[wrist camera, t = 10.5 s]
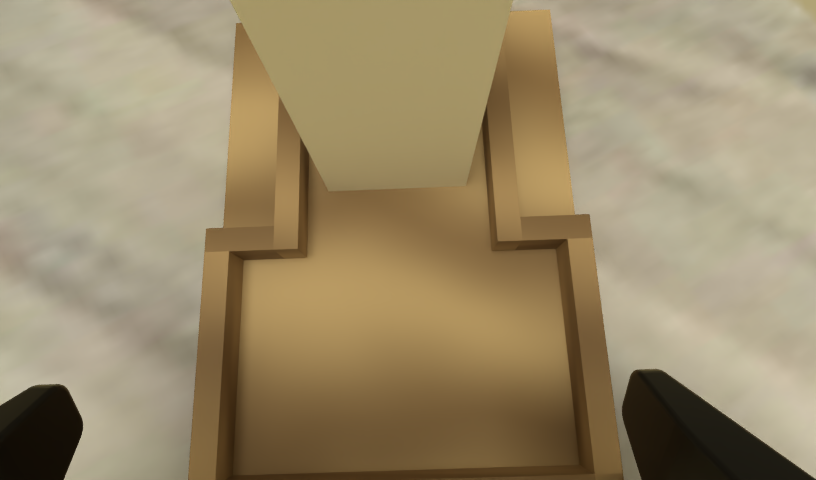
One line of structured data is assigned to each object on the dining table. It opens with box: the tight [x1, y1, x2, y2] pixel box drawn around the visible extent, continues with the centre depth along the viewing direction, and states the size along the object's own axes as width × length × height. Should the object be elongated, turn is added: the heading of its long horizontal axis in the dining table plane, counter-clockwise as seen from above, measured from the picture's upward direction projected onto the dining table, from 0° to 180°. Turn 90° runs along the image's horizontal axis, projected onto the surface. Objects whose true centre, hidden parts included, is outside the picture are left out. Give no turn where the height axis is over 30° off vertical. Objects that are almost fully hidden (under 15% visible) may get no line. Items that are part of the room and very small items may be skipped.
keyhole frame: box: [188, 10, 624, 480], centre depth 17 cm, size 18×13×2 cm
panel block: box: [230, 0, 513, 191], centre depth 14 cm, size 4×5×10 cm
